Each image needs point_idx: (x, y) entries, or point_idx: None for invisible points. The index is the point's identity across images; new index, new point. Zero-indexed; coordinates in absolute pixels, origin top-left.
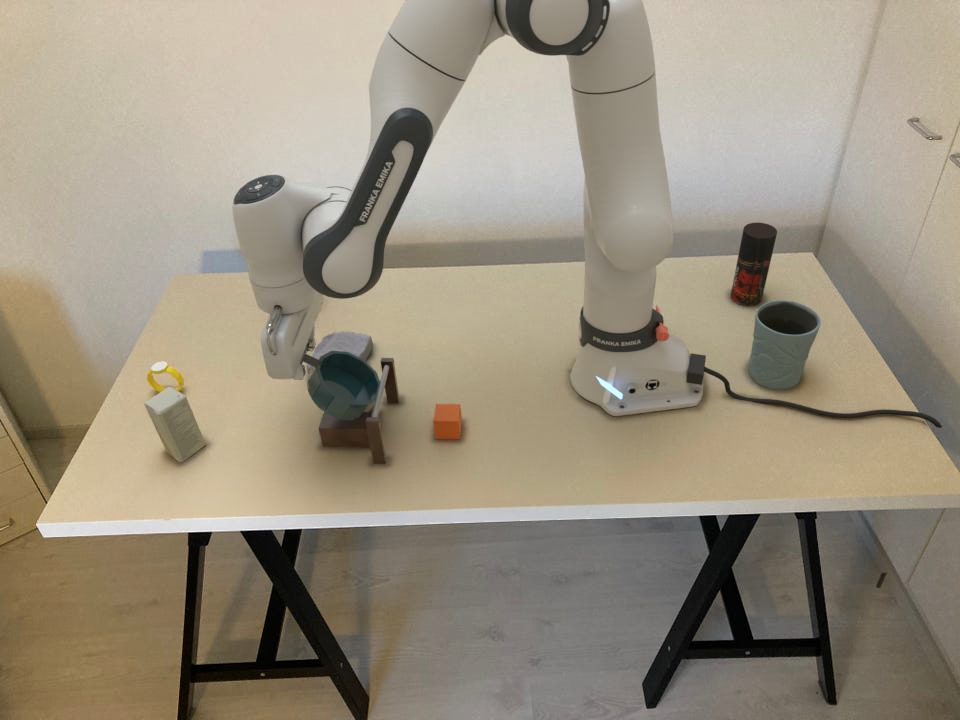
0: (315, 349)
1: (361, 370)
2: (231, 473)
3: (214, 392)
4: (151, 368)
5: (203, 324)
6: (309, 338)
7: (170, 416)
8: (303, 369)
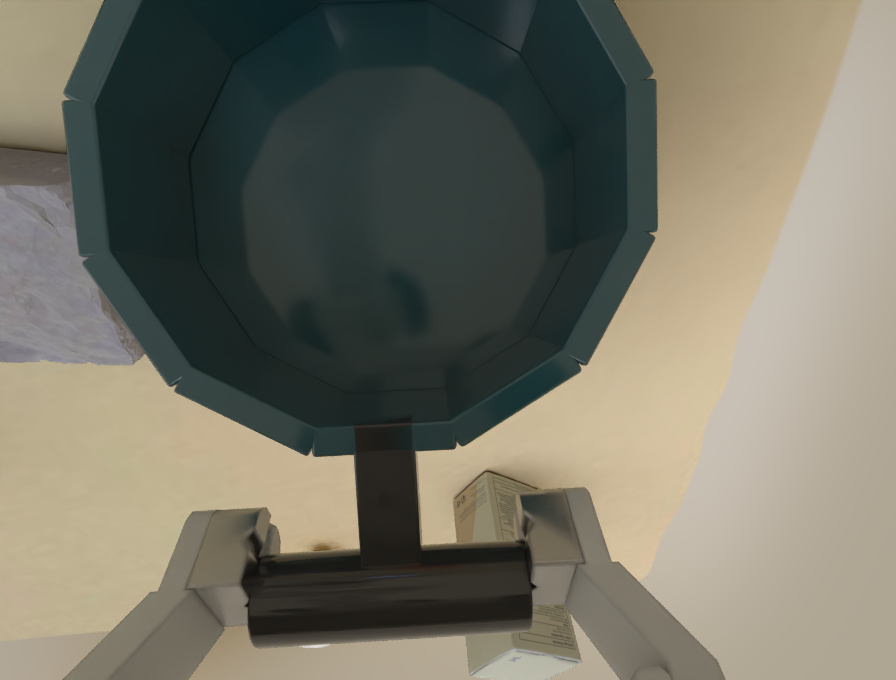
0: (19, 360)
1: (159, 103)
2: (587, 401)
3: (304, 504)
4: (323, 646)
5: (81, 581)
6: (199, 613)
7: (557, 626)
8: (568, 545)
